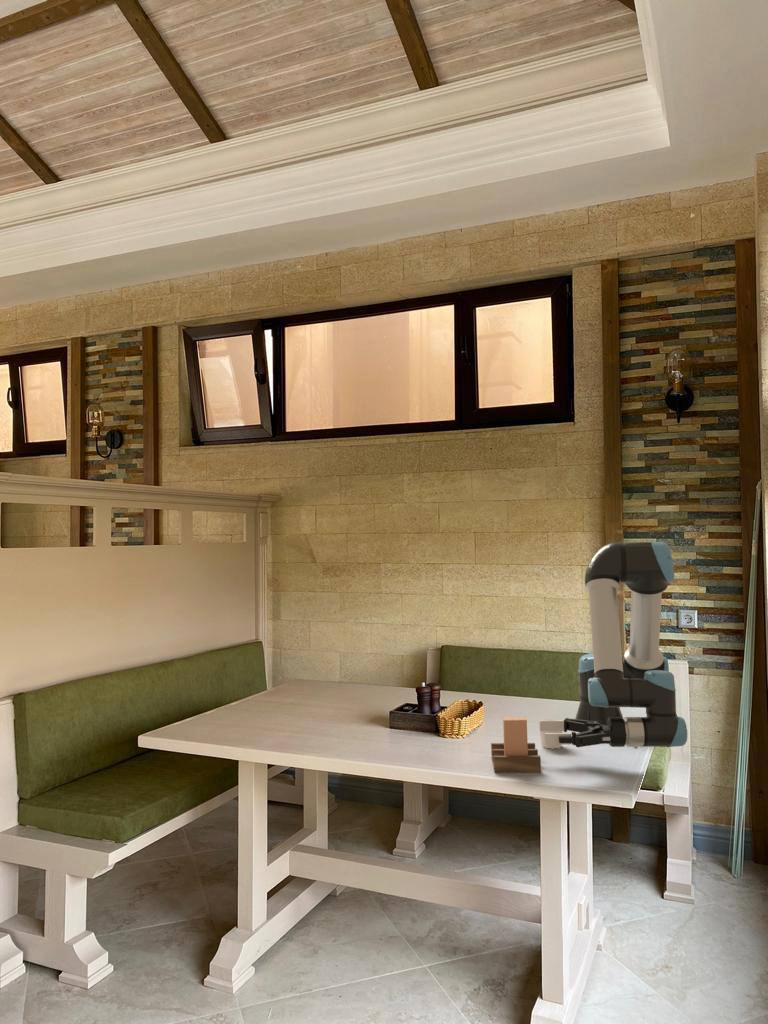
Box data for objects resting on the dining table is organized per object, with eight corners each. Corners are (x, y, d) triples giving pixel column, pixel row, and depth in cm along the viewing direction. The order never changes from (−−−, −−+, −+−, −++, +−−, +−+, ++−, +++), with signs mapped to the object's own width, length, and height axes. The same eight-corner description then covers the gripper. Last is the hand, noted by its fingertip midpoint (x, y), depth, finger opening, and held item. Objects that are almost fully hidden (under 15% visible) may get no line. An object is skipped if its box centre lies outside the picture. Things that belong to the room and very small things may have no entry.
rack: (491, 757, 218) (491, 743, 219) (535, 757, 218) (534, 742, 218) (494, 772, 205) (494, 757, 205) (540, 772, 204) (540, 756, 204)
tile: (504, 762, 210) (503, 717, 210) (527, 762, 209) (525, 717, 210) (505, 765, 207) (503, 720, 207) (528, 765, 206) (526, 720, 207)
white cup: (564, 749, 224) (563, 725, 224) (539, 749, 225) (539, 724, 226) (563, 743, 231) (562, 719, 231) (539, 742, 232) (538, 719, 232)
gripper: (635, 760, 193) (548, 759, 195) (615, 734, 218) (537, 734, 220) (634, 729, 193) (547, 729, 195) (614, 706, 218) (537, 707, 220)
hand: (542, 732), depth 208 cm, fingers open, 13 cm apart
